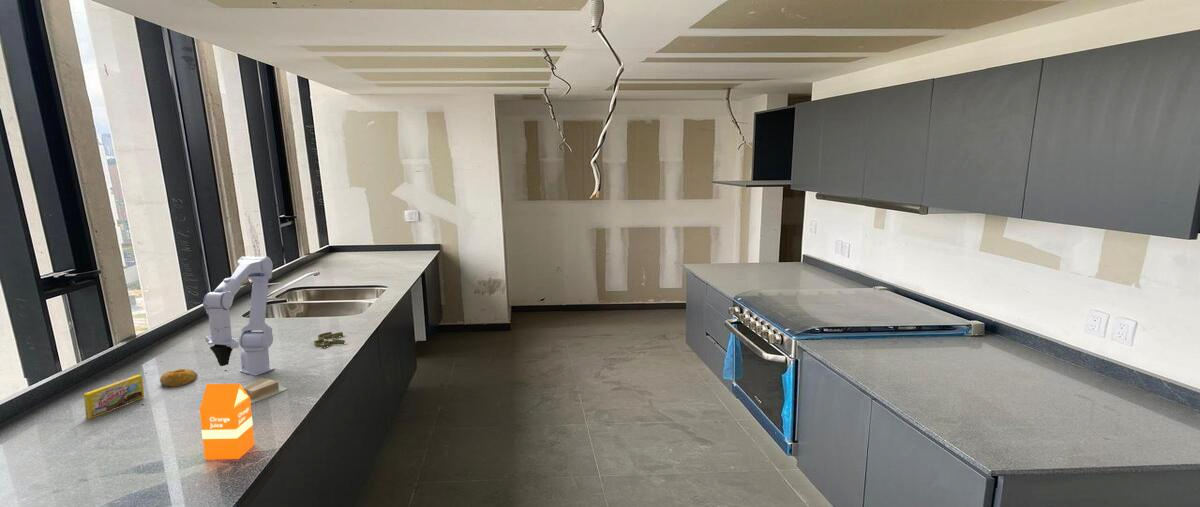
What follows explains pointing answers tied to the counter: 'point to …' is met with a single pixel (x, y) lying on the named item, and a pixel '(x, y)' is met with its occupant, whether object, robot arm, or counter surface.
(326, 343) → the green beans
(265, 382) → the maple tile
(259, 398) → the sage mat
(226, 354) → the robot arm
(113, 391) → the candy box
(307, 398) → the counter surface
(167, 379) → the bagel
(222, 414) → the orange juice
